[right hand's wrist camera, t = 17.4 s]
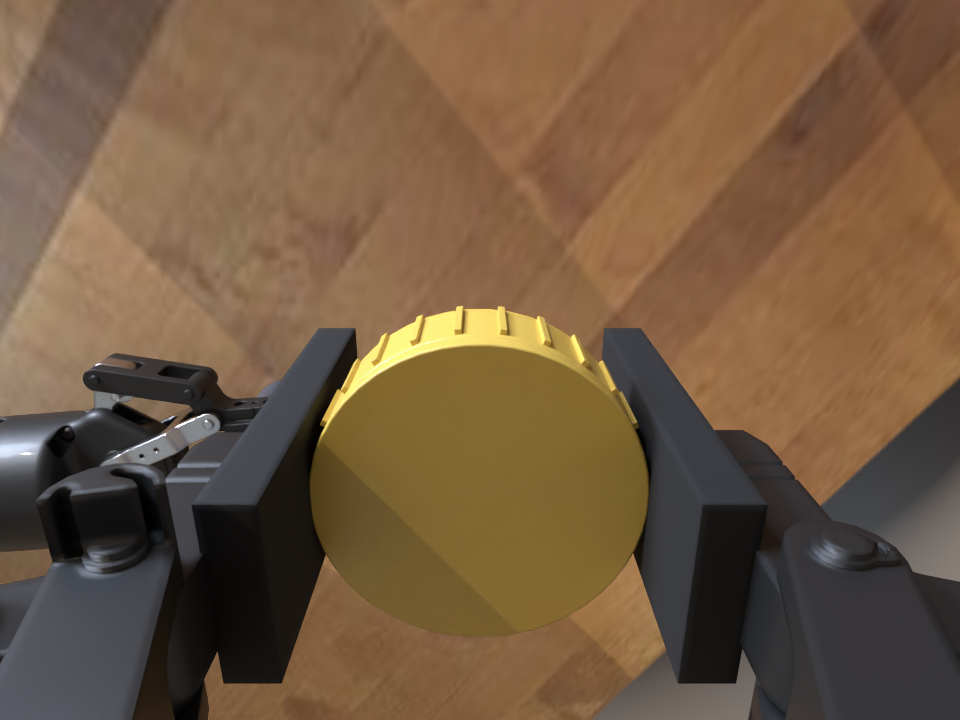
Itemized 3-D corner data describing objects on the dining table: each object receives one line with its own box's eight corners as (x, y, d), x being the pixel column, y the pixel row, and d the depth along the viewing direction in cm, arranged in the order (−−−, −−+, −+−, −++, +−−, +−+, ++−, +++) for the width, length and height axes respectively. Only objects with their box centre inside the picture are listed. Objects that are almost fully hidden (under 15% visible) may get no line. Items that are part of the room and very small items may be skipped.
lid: (681, 360, 11) (715, 403, 10) (566, 603, 13) (578, 674, 11) (373, 260, 11) (353, 289, 9) (297, 530, 12) (270, 594, 11)
